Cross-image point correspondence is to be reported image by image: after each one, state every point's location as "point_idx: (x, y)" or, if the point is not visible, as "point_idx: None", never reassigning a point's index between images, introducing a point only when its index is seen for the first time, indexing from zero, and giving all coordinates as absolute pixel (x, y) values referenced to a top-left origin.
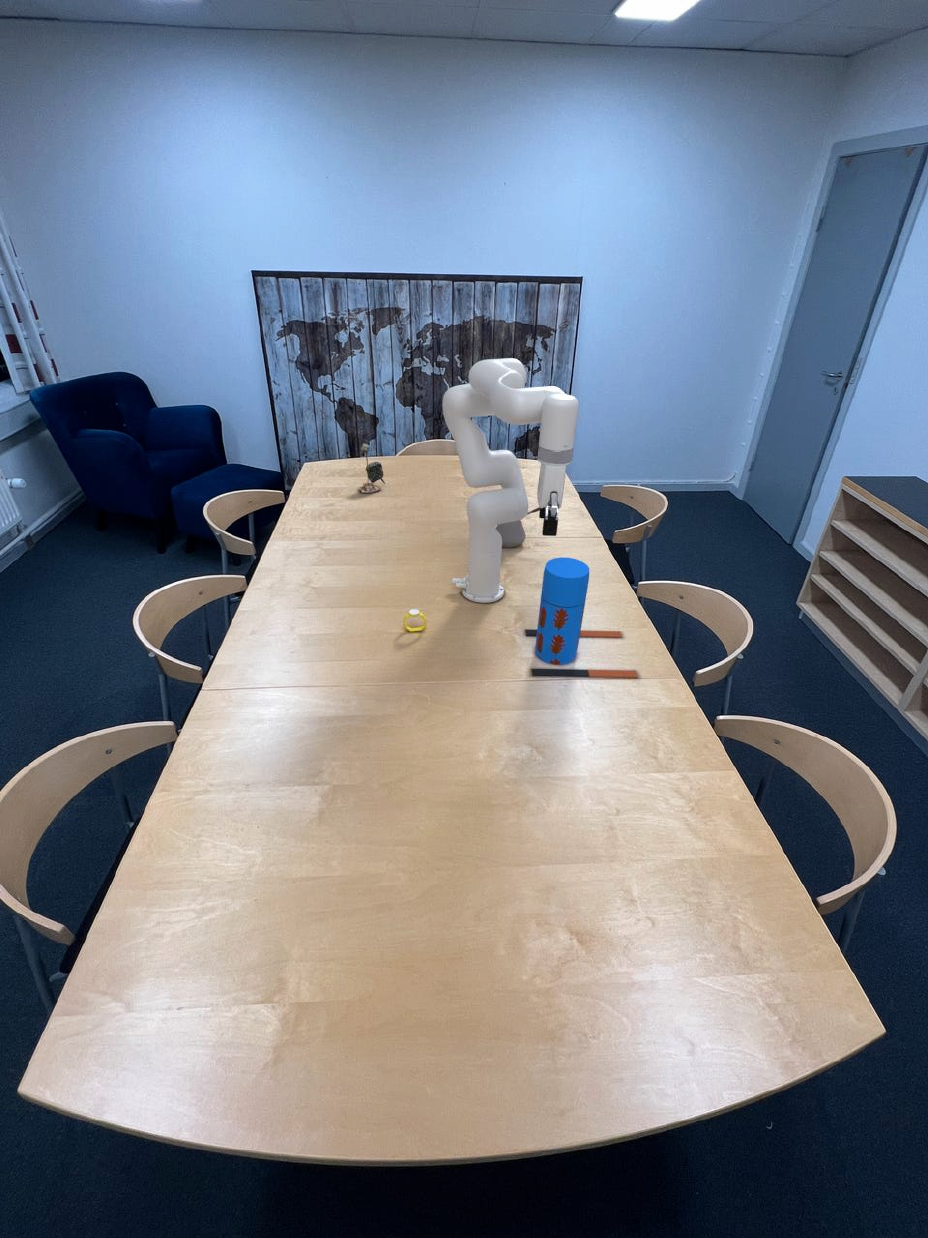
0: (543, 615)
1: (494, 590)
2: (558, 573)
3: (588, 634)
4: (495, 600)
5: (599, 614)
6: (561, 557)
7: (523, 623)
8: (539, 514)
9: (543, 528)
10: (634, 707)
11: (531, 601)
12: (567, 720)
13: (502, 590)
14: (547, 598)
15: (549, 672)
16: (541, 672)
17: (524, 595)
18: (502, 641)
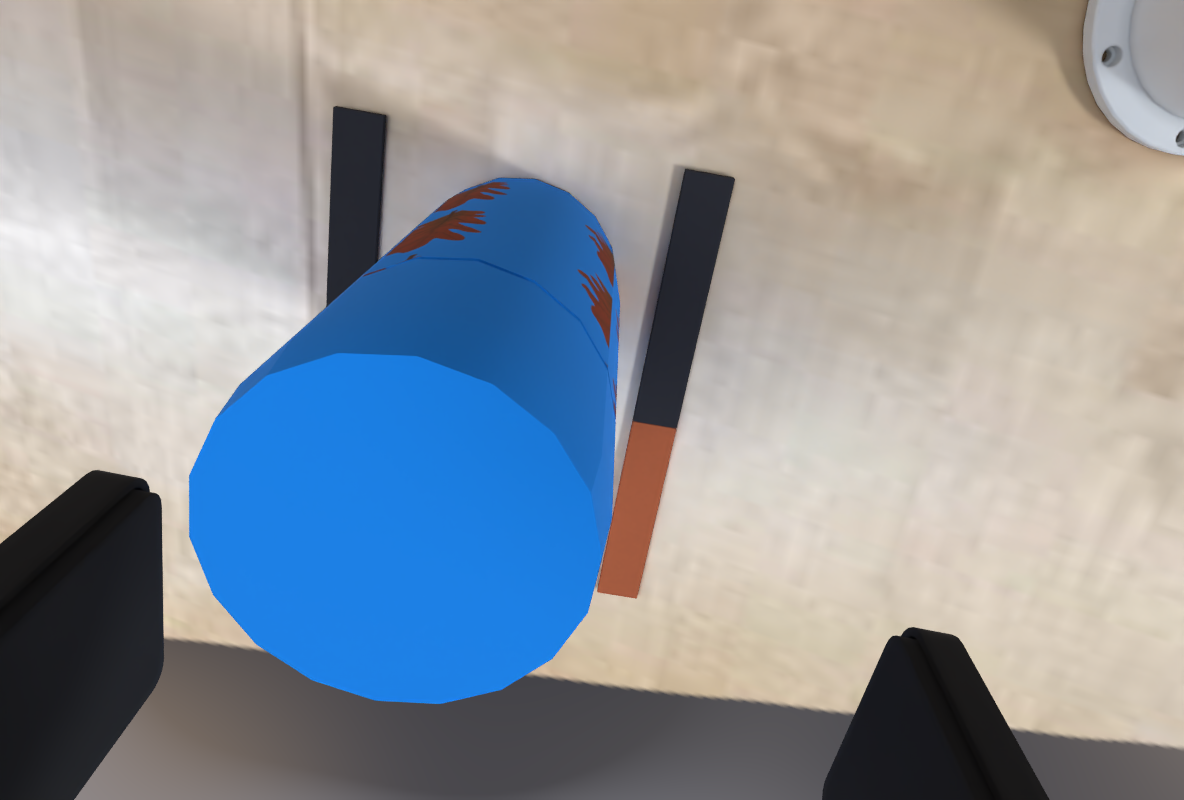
0: (424, 236)
1: (1157, 73)
2: (271, 436)
3: (634, 468)
4: (1087, 72)
5: (795, 568)
6: (598, 556)
7: (805, 186)
8: (940, 668)
9: (3, 549)
10: (140, 466)
11: (1011, 292)
12: (28, 178)
13: (1171, 142)
14: (362, 282)
15: (349, 197)
16: (349, 157)
17: (1088, 270)
18: (654, 14)
